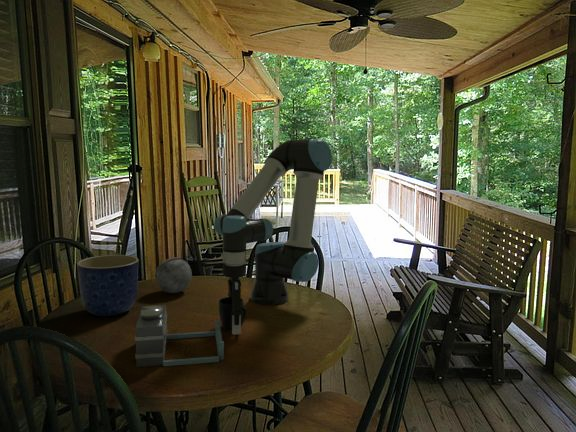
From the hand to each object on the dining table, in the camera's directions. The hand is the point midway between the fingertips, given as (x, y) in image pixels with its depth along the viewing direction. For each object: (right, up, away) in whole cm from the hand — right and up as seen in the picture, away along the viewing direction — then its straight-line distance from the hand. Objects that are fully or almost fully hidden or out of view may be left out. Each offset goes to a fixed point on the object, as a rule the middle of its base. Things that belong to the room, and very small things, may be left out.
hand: (234, 326), depth 148 cm
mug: (0, -1, 0) cm, 1 cm away
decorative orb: (-30, +4, +39) cm, 50 cm away
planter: (-47, +1, +15) cm, 50 cm away
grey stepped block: (-22, -3, -18) cm, 28 cm away
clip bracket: (-11, -3, -15) cm, 19 cm away
